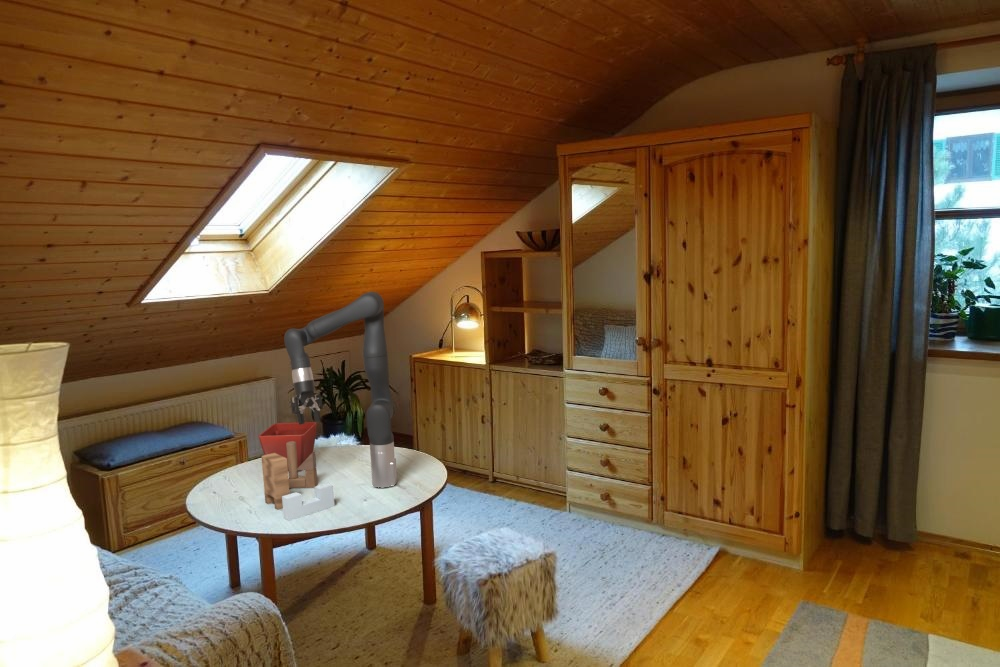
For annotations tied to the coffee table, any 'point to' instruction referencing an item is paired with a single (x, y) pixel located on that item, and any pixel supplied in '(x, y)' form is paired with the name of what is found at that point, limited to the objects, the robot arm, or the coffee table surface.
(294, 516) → the white notched u-shaped brace
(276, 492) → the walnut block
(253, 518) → the coffee table surface
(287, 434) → the plant pot
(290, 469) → the brown notched handled part
